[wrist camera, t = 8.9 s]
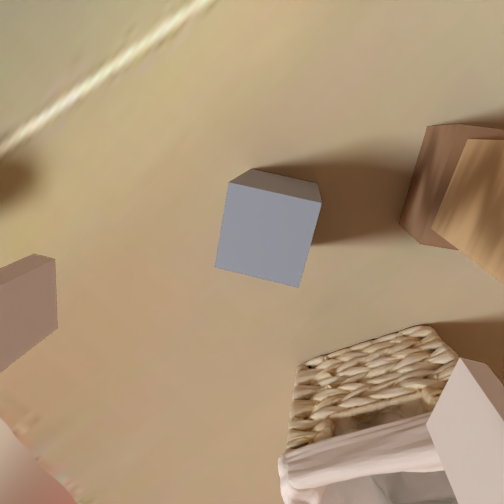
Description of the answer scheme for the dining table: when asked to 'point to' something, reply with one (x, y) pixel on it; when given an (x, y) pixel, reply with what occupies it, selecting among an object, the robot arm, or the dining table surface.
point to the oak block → (476, 206)
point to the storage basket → (368, 424)
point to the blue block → (268, 226)
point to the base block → (437, 177)
